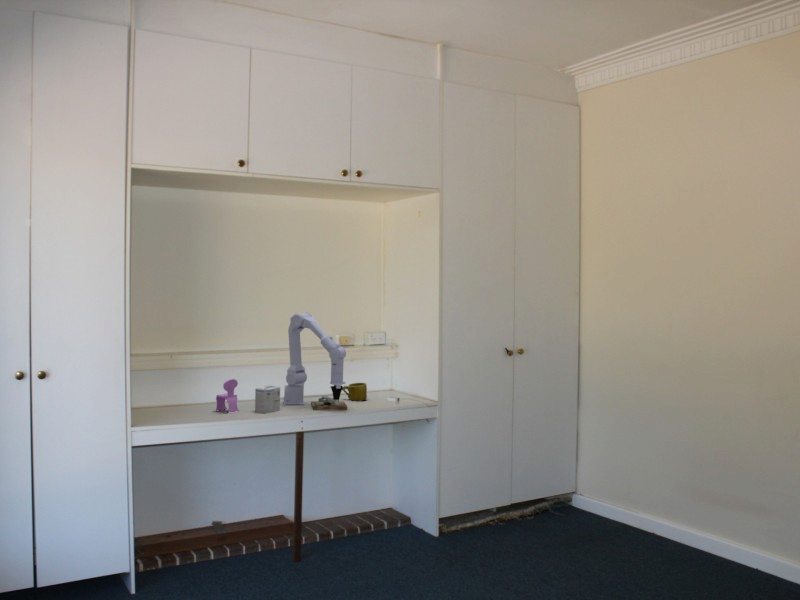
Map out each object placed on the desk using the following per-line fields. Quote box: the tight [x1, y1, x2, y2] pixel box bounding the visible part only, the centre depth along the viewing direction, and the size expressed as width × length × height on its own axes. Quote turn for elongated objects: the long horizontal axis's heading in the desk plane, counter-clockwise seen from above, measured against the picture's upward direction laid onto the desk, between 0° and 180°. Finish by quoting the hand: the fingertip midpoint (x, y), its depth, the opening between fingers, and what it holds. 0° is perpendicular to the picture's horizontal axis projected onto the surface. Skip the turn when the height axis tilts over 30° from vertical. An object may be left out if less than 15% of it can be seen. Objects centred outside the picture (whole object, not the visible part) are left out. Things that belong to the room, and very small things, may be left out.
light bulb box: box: [254, 385, 281, 414], centre depth 347 cm, size 11×7×11 cm, turn 152°
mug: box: [342, 382, 368, 402], centre depth 383 cm, size 12×10×10 cm
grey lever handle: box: [318, 395, 338, 405], centre depth 357 cm, size 13×6×3 cm, turn 40°
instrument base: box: [310, 400, 348, 411], centre depth 360 cm, size 16×14×3 cm
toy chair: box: [215, 378, 240, 414], centre depth 342 cm, size 8×9×15 cm
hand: (336, 401), depth 357 cm, fingers closed
